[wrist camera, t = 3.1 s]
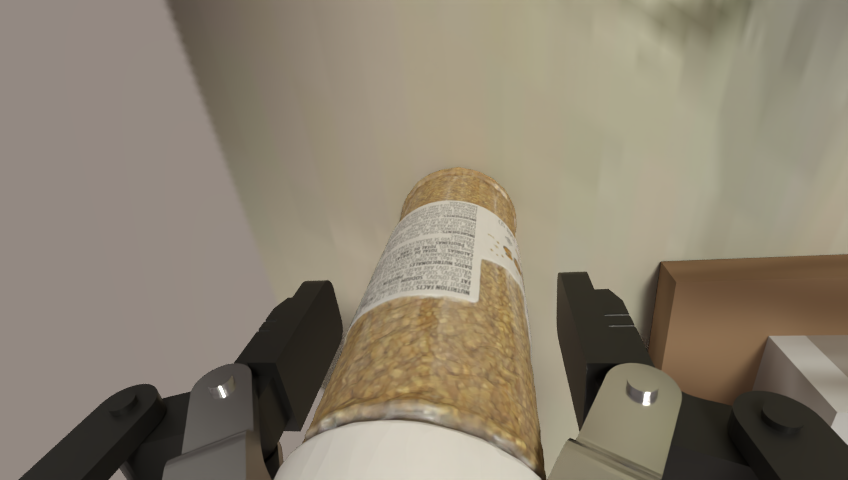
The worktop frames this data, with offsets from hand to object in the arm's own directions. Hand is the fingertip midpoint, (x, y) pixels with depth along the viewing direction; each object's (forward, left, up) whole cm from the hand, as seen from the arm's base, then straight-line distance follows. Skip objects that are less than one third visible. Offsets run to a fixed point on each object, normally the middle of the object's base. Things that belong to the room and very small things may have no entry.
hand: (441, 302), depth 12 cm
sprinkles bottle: (0, 0, -5) cm, 5 cm away
